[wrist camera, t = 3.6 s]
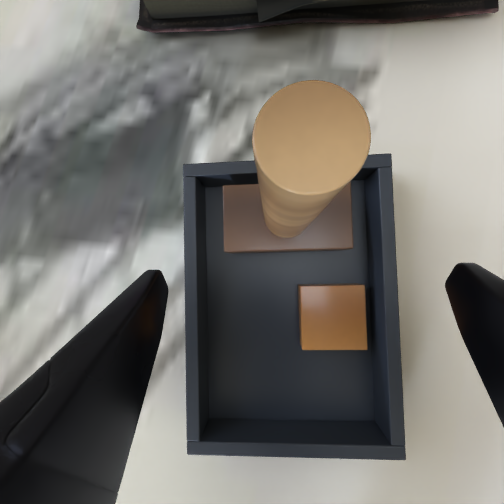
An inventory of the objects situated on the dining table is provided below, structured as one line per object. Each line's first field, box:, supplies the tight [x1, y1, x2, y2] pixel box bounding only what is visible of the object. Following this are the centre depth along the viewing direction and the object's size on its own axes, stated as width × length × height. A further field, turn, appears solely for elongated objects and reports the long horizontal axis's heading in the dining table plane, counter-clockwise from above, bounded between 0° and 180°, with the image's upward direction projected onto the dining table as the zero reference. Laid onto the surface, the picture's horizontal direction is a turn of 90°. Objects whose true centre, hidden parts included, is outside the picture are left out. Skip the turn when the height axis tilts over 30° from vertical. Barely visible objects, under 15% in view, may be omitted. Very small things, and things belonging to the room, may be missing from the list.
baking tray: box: [183, 154, 406, 460], centre depth 18 cm, size 18×13×3 cm
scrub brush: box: [223, 80, 371, 253], centre depth 13 cm, size 4×8×13 cm, turn 91°
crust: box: [298, 283, 367, 350], centre depth 18 cm, size 4×4×1 cm
